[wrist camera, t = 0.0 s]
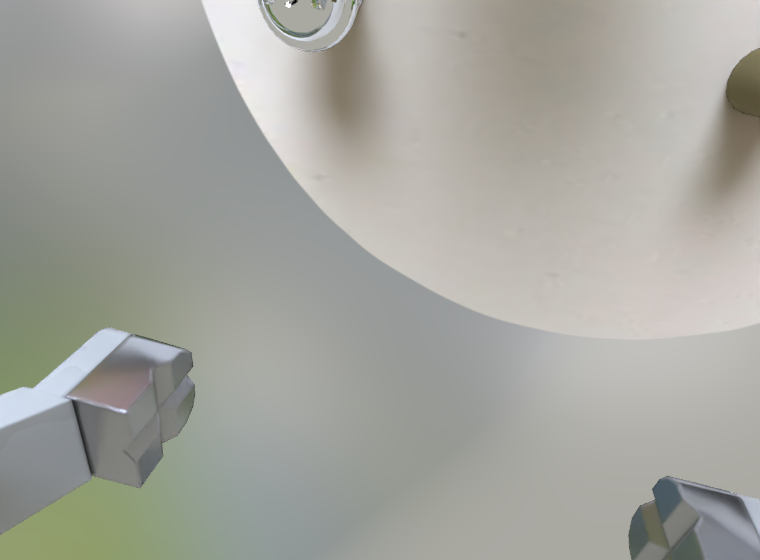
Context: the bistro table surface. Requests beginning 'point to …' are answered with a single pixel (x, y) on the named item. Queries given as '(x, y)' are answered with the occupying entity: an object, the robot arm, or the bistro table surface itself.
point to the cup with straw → (310, 21)
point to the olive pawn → (746, 85)
